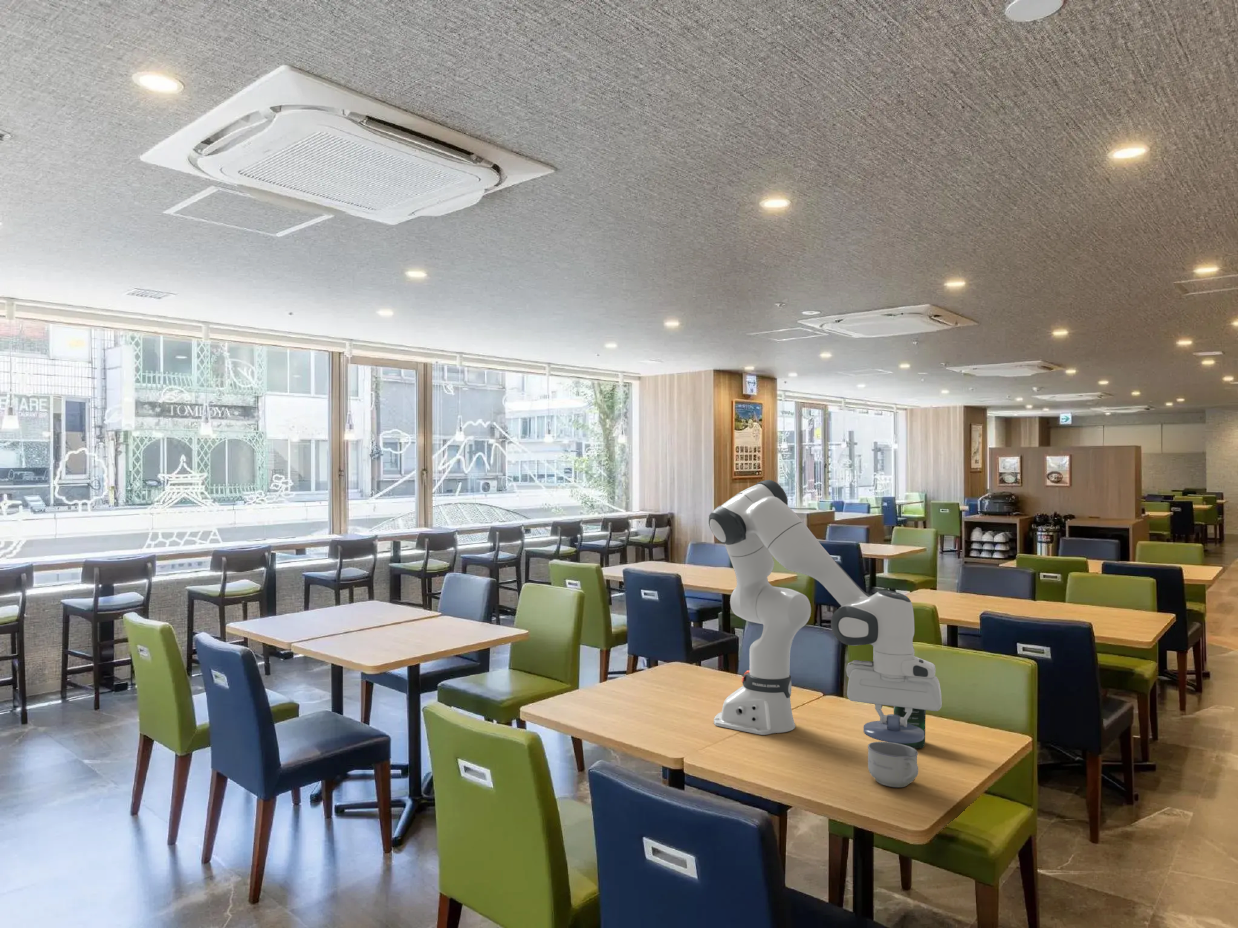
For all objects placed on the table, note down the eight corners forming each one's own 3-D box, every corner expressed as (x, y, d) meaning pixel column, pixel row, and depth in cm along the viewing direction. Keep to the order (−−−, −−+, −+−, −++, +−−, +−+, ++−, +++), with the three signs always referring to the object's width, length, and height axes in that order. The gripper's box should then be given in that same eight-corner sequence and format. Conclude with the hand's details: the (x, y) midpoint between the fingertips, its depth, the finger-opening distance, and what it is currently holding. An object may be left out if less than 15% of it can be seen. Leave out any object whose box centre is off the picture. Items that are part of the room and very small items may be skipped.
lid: (859, 738, 176) (859, 719, 177) (867, 721, 188) (867, 705, 188) (922, 746, 171) (922, 727, 171) (926, 729, 183) (926, 712, 183)
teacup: (860, 774, 186) (860, 740, 186) (905, 773, 187) (905, 739, 187) (885, 798, 172) (885, 761, 173) (933, 796, 173) (933, 759, 173)
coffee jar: (926, 751, 202) (926, 678, 202) (893, 748, 204) (893, 675, 205) (924, 739, 211) (924, 669, 211) (893, 736, 214) (893, 667, 214)
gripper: (844, 661, 181) (844, 722, 181) (940, 671, 173) (940, 735, 173) (848, 656, 187) (848, 715, 187) (942, 665, 179) (942, 727, 179)
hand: (893, 724), depth 180 cm, fingers closed on lid, 3 cm apart
